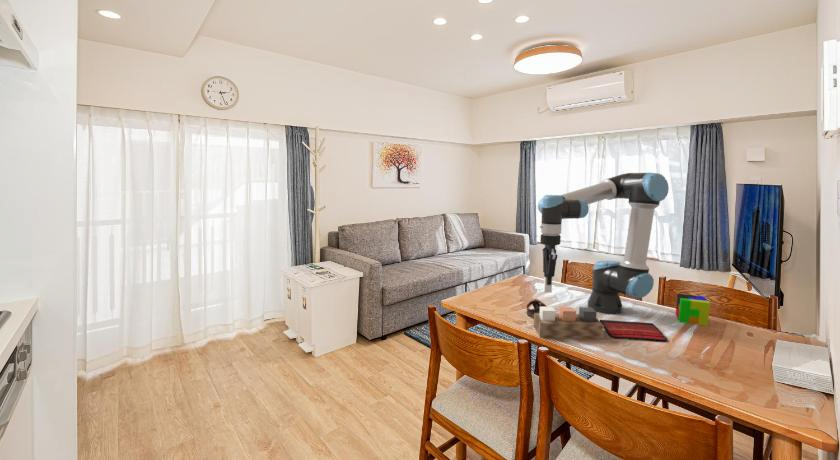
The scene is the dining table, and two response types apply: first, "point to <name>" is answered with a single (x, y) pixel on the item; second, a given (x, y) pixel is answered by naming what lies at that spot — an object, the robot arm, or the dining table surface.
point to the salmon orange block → (567, 314)
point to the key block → (568, 328)
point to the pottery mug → (535, 307)
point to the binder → (633, 330)
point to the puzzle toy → (692, 309)
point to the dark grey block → (587, 314)
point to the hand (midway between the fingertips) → (547, 291)
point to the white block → (547, 314)
